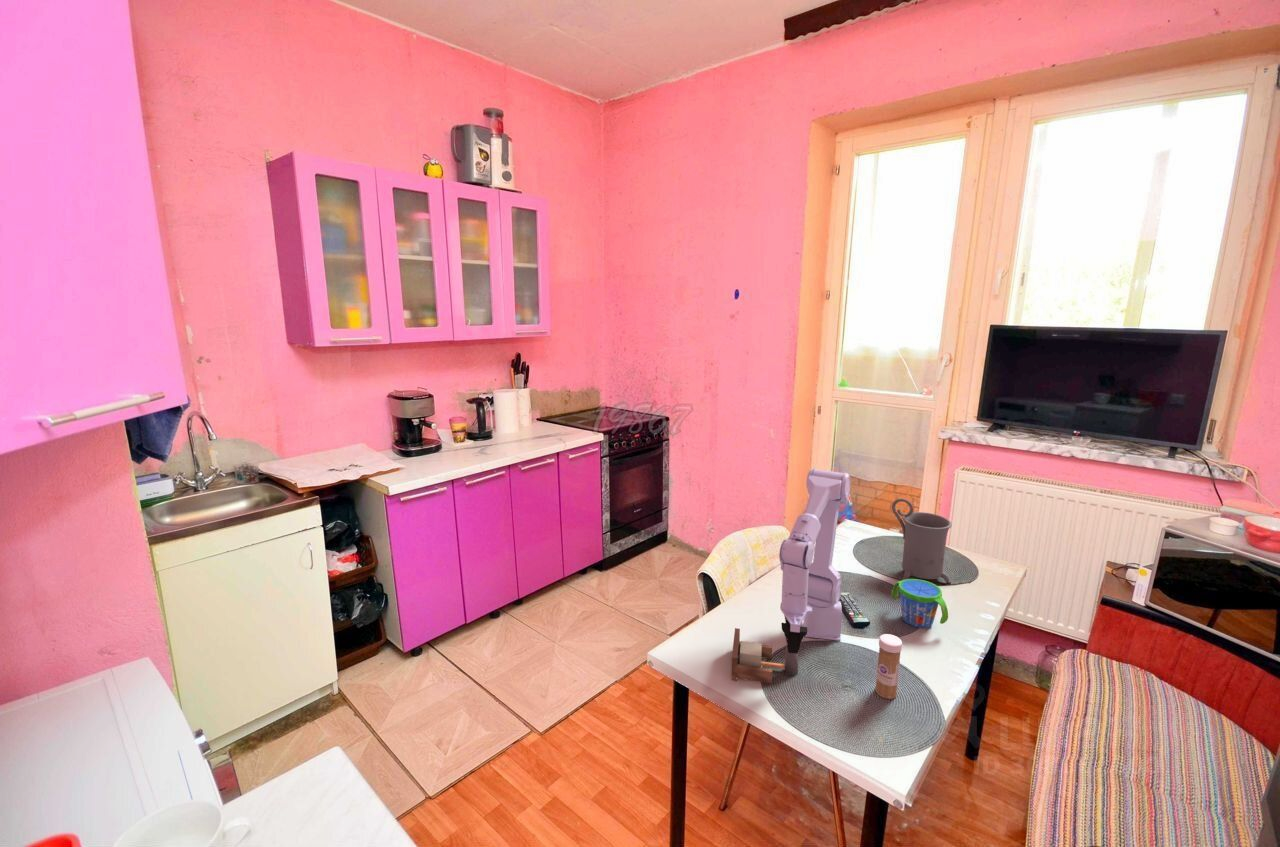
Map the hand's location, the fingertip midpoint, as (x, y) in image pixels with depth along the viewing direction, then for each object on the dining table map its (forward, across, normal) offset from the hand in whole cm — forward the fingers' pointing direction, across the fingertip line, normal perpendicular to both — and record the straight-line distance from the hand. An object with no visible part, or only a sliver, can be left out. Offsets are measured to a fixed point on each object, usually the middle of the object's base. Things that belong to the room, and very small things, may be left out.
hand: (792, 642), depth 127 cm
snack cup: (+8, +29, -34) cm, 46 cm away
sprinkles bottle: (+8, -3, -20) cm, 22 cm away
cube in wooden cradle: (+8, 0, +8) cm, 12 cm away
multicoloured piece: (+8, 0, +5) cm, 9 cm away
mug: (+8, +57, -42) cm, 71 cm away
